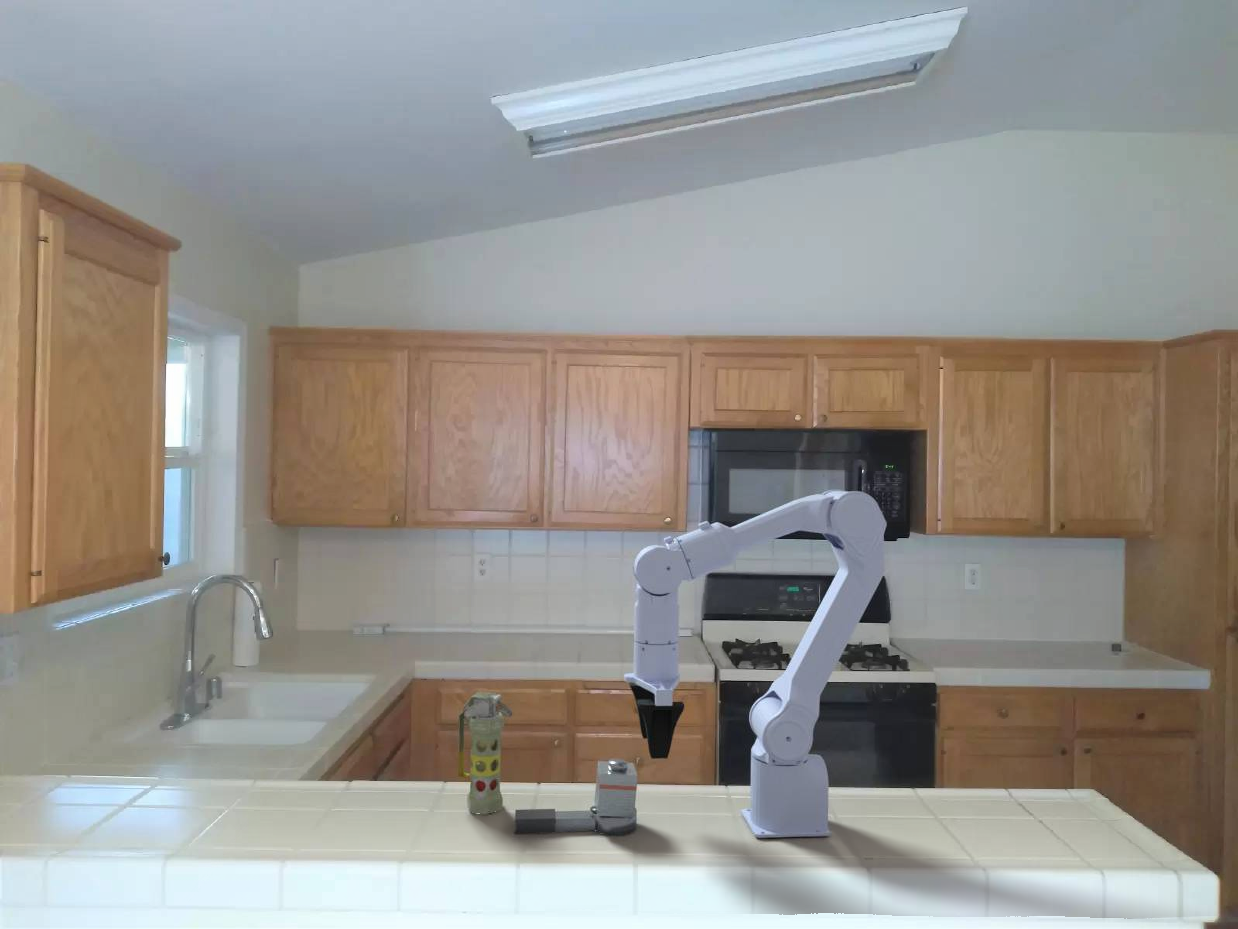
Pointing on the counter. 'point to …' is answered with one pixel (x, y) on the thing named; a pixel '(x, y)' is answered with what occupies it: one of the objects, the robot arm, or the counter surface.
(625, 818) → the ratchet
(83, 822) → the counter surface
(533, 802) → the counter surface
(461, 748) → the grenade
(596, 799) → the striped cube with knob
